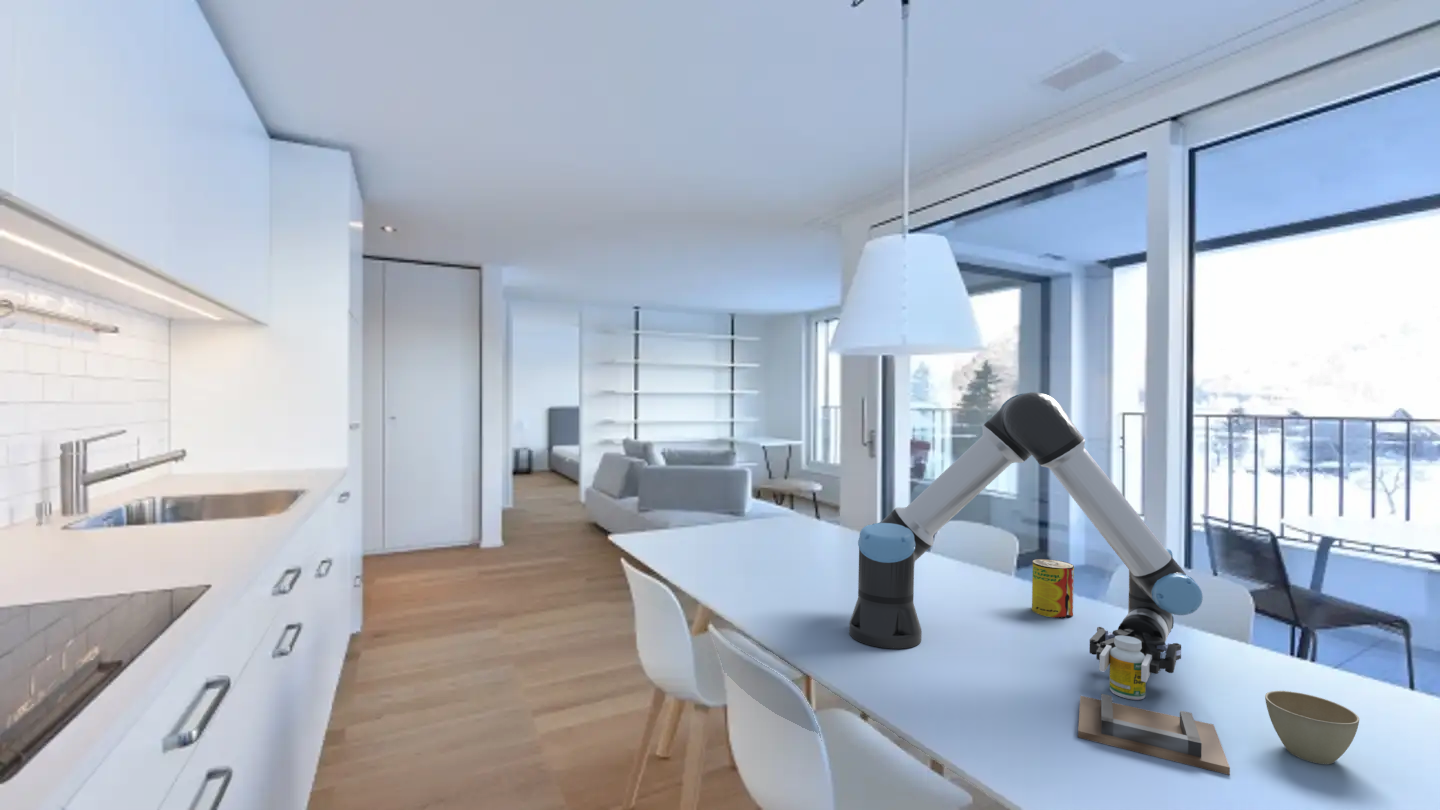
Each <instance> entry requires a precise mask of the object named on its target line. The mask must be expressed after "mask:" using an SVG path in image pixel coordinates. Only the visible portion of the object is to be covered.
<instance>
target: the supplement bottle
mask: <svg viewBox="0 0 1440 810" xmlns="http://www.w3.org/2000/svg"><path fill="white" fill-rule="evenodd" d="M1114 644H1115V646H1116V647H1114V648H1112V649H1111V650H1110V664H1109V690H1110V691H1111V693H1112V694H1114V695H1116V696H1117V697H1120V698H1124V699H1126V700H1132V701H1133V700H1134V701H1139V700H1140V701H1141V700H1143V699H1145V697H1146V693H1147V692H1146V686H1147V684H1146V683H1147V682H1143V681H1141V665H1142V663H1143V661H1144V659H1145V655H1144V654H1143V653H1142V652H1140V650H1141V649H1142V642H1141V641H1140V640H1139V639H1137V638H1134V637H1130V636H1123V635H1119V636H1115V640H1114Z"/></svg>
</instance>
